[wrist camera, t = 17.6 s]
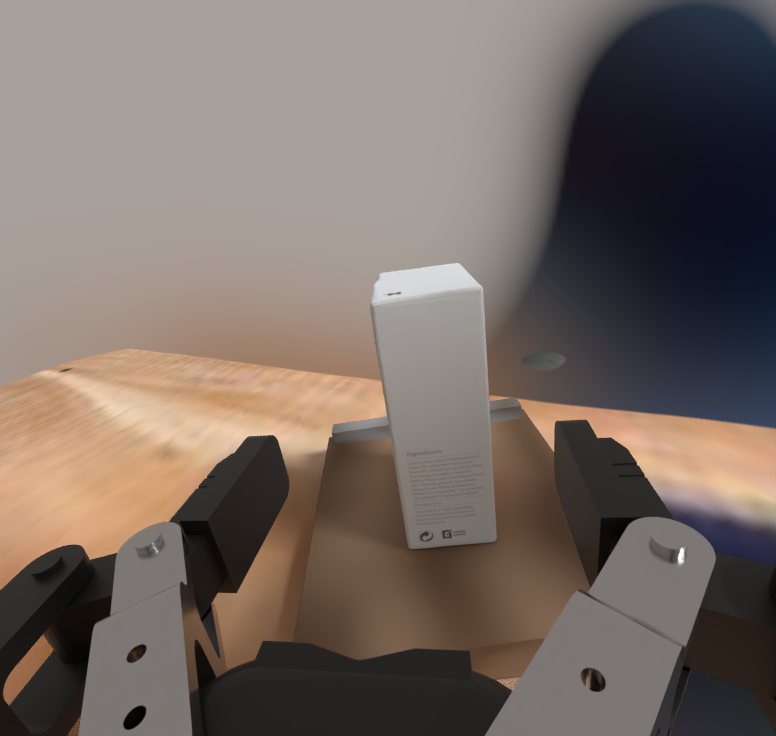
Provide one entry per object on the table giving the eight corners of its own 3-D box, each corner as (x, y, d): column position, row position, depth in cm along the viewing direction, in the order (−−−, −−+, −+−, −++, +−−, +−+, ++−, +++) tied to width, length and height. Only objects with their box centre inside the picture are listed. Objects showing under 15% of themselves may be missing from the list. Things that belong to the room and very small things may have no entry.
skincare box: (500, 544, 19) (485, 286, 14) (407, 553, 19) (365, 303, 15) (477, 464, 25) (461, 259, 20) (405, 472, 25) (374, 272, 20)
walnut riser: (523, 432, 30) (522, 396, 29) (667, 656, 16) (676, 601, 14) (334, 460, 31) (326, 425, 30) (300, 705, 16) (281, 654, 15)
